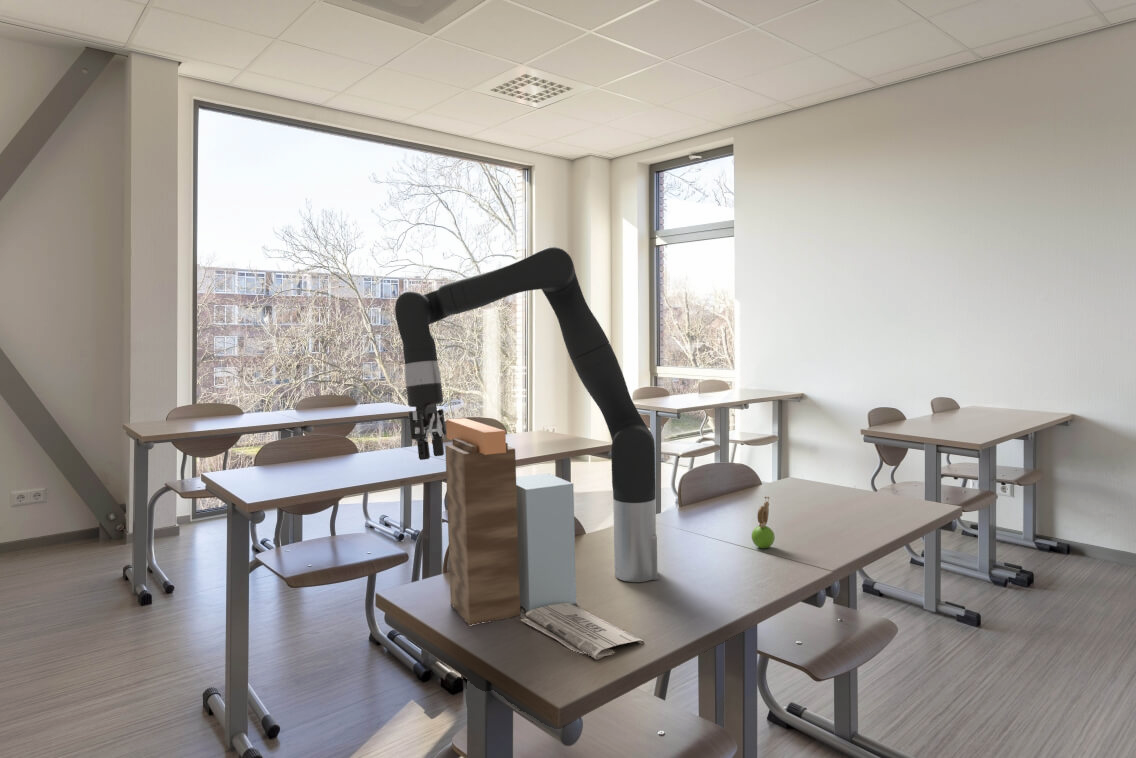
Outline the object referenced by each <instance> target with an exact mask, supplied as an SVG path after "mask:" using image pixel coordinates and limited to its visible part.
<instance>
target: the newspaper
mask: <svg viewBox="0 0 1136 758" xmlns="http://www.w3.org/2000/svg"><path fill="white" fill-rule="evenodd" d="M525 616H526V617H528V618H525V617H524V618H521V619H520V622H523V623H524V624H527V625H529V626H530V627H533V628H534V629H536V630H537V631H540V632H541V633H543V634H545V635H547V636H548V637H550V638H553V639H555V640H556V641H558V642H559V643H560V644H562V645H564V646H565V647H566V648H568V649H569V650H571V651H572V650H573V651H572V652H574V651H576V652H575V653H577V652H579V653H578V654H580V653H583V654H586V653H587V654H588V656H587V657H589V656H591V658H592V659H595V660H600V659H602V658H604V657H606V656H611V655H613V654H615V653H616V652H614V651H615V650H614V649H611V648H613V647H616V646H620V645H621V646H622V645H624V644H628V643H629V644H630V643H634V642H636V643H638V644H641V645H642V644H645V640H643V639H641V638H639V637H637V636H636V635H633V634H631V633H629V632H628V631H625V630H624V629H621V628H620V627H618V626H616V625H614V624H613V623H610V622H608V621H606V620H604V619H602V618H600V617H598V616H596V615H594V614H592V613H590V612H588V611H586V610H584V609H582V608H580V607H579V606H576V605H575V604H571V603H561V604H555V605H548V606H544V607H540V608H537V609H533V610H530V611H526V612H525ZM613 650H614V651H613ZM583 651H584V652H586V653H584V652H583ZM612 653H613V654H612ZM583 654H582V655H583ZM587 654H586V655H587ZM586 655H585V656H586Z"/></svg>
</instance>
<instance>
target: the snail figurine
mask: <svg viewBox="0 0 1136 758" xmlns="http://www.w3.org/2000/svg"><path fill="white" fill-rule="evenodd" d="M764 499H765V501H764V502H763V505H761V506H760V507H759V508H758V510H757V521H758V523H759V524H758V526H756V527H754V529H753V530H752V533H751V540H752V542H753V544H754V545H755V546H756V547H758V548H760V549H768V548H770V547H771V546H772V545H774V542H775V539H776V538H775V537H776V536H775V532H774V531H773V530H772V528H771V527H769V526H767V523H768V521H769V511H770V509H769V508H770V507H769V506H770V503H769V499H770V496H764Z"/></svg>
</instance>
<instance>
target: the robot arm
mask: <svg viewBox="0 0 1136 758" xmlns="http://www.w3.org/2000/svg"><path fill="white" fill-rule="evenodd" d="M578 279H579V278H578V277H577V273H576V270H575V265H574V262H573V259H572V257H571V256H570V254H569V253H568V252H567V251H566V250H565V249H562V248H560V247H556V246H549V247H545V248H543V249H541V250H540V251H537V252H535V253H533V254H531V255H528V256H527V257H525V258H523V259H520V260H518V261H516V262H513V263H511V264H508V265H505V266H503V267H502V266H501V267H500V268H497V269H492V270H490V271H486V272H482V273H478V274H475V275H470V276H467V277H464V278H460V279H457V280H453V281H451V282H446V283H444V284H442V285H441V286H440V287H439V288H437V290H433V291H429V292H427V293H423V294H421V293H419V292H418V291H415V290H408V291H404V292H403V293H401V294H400V295H399V296H398V297H397V299H396V301H395V306H394V313H395V315H394V316H395V319H396V320H395V321H396V323H397V328H398V332H399V336H400V338H401V341H402V347H403V348H402V350H403V352H402V353H403V359H404V378H405V379H404V381H405V387H406V388H405V389H406V396H407V405H408V406H409V407H410V408H415V410H411V411H409V412H408V414H409V424H410V425H409V426H410V437H411V440H412V441H413V440H414V441H415V443H417V444H416V445H417V452H418V453H417V454H418V459H419V460H420V461H421V460H422V461H423V460H429V459H430V458H431V454H430V445H429V435H430V438H431V443H432V452H433V456H434V457H442V456H444V455H445V451H444V450H445V448H444V440H443V439H444V437H445V436H447V427H446V421H445V415H444V414H445V413H444V409H443V408H437V405H441V404H442V403H444V396H443V389H442V387H443V386H442V378H441V371H440V367H439V363H438V356H437V355H438V354H437V347H436V342H435V339H434V337H433V336H432V334H431V331H430V330H431V329H430V325H432V324H434V323H437V322H439V321H441V320H444V319H446V318H448V317H450V316H453V315H458V314H462V313H466V312H469V311H472V310H476V309H478V308H481V307H486V306H487V305H489V304H493V303H494V302H497V301H499V300H502V299H503V298H507V297H510V296H512V295H516V294H519V293H524V292H529V291H535V290H536V291H537V290H541V291H542V293H543V294H544V296H545V298H546V299H547V301H548V303H549V304H550V306H551V309H552V310H553V311H554V314H555V316H556V318H557V321H558V325H559V327H560V332H561V335H562V338H563V341H564V345H565V348H566V351H567V353H568V356H569V358H570V360H571V362H572V365H573V367H574V369H575V371H576V373H577V376H578V377H579V380H580V381H581V382H582V384H583V386H584V388H585V389H586V392H587V393H588V394H589V396H590V397H591V398H592V400H593V401H594V402H595V404H596V405H597V407H598V409H599V410H600V413H601V414H602V416H603V418H604V421H605V424H606V425H607V429H608V431H609V435H610V438H611V446H610V447H611V451H610V452H611V455H610V457H611V459H610V461H611V462H610V463H611V483H612V484H611V485H612V500H613V502H612V503H613V505H612V506H613V507H612V508H613V509H612V510H613V545H614V546H613V552H614V553H613V555H614V557H613V558H614V560H613V561H614V565H613V566H614V567H613V568H614V577H615V578H616V579H618V580H620V581H624V582H629V583H643V582H649V581H653V580H654V581H656V580H658V536H657V514H656V512H657V511H656V509H657V508H656V507H657V506H656V503H657V502H656V501H657V500H656V451H655V450H656V448H655V447H656V446H655V439H654V435H653V434H652V432H651V431H650V429H649V428H648V426H647V424H646V422H645V421H644V419H643V418H642V416H641V414H640V413H639V411H638V409H637V408H636V405H635V404H634V401H633V399H632V398H631V395H630V392H629V388H628V386H627V382H626V380H625V376H624V373H623V371H622V368H621V366H620V363H619V360H618V358H617V356H616V353H615V351H614V349H613V347H612V344H611V343H610V341H609V337H607V335H606V333H605V331H604V329H603V328H602V325H600V322H599V321H598V320H597V318H596V316H595V315H594V313H593V312H592V311H591V310H592V309H590V307H589V306H588V304H587V301H586V299H585V296H584V295H583V292H582V288H581V285H580V283H579V280H578Z"/></svg>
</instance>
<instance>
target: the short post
mask: <svg viewBox="0 0 1136 758" xmlns="http://www.w3.org/2000/svg"><path fill="white" fill-rule="evenodd" d="M516 492H517V526H518V560H519V595H520V607H521V608H523V609H524V610H525V611H526V612H528V611H530V610H533V609H537V608H540V607H544V606H548V605H555V604H561V603H571V604H573V605H575V604H577V585H576V583H577V581H576V578H577V577H576V575H577V574H576V540H575V539H576V538H575V537H576V536H575V534H576V533H575V531H576V530H575V503H574V502H575V497H574V494H575V491H574V482H571V481H568V480H565V479H563V478H561V477H558V476H556V475H553V474H550V473H539V474H531V475H522V476H516Z"/></svg>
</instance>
